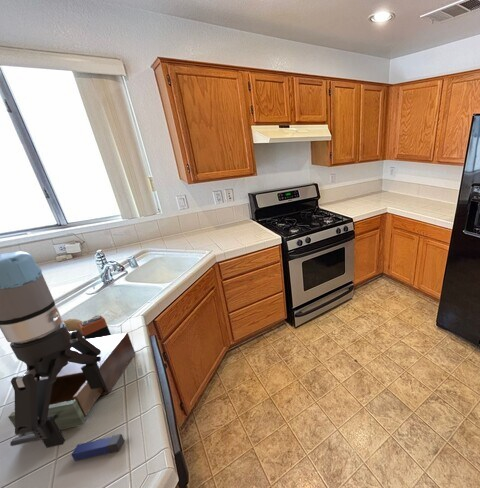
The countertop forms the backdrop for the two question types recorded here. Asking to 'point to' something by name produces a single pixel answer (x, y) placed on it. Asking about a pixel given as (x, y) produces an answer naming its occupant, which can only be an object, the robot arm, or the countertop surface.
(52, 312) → the robot arm
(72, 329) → the natural sponge
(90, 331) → the battery
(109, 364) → the cabinet
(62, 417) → the drawer
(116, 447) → the navy blue eraser
